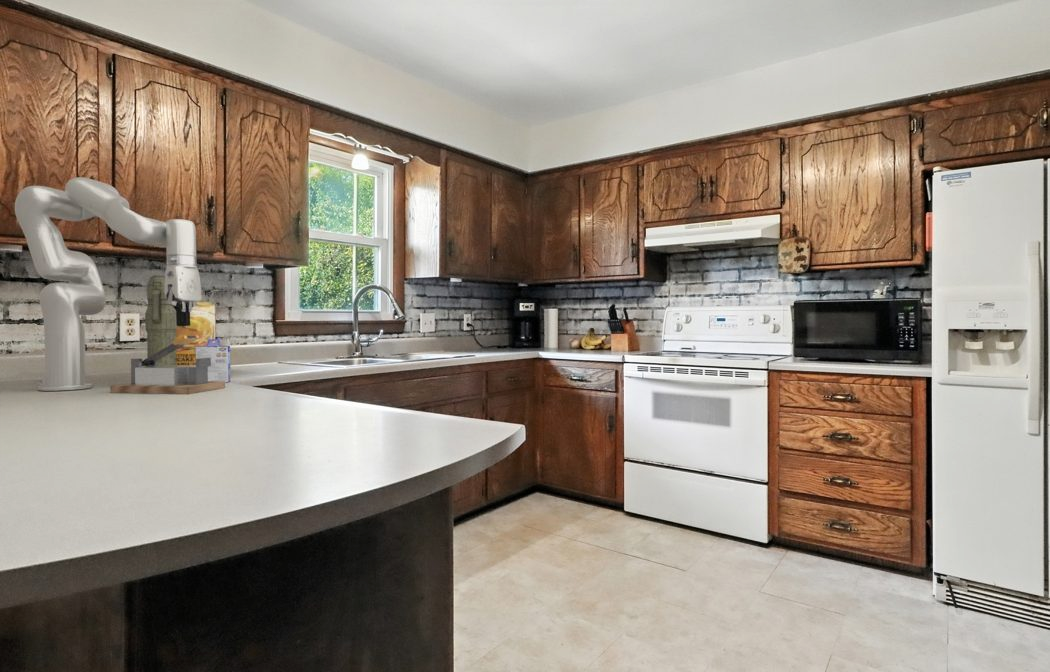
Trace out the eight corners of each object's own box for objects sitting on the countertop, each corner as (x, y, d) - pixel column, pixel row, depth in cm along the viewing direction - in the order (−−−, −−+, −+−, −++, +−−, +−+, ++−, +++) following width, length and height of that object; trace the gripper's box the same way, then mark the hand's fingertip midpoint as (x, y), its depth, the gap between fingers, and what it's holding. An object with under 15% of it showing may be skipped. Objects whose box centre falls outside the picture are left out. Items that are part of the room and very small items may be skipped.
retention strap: (134, 367, 170) (133, 364, 170) (150, 366, 176) (148, 363, 176) (185, 338, 168) (183, 335, 168) (199, 338, 174) (197, 334, 174)
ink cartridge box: (231, 381, 200) (230, 338, 200) (229, 382, 195) (228, 339, 195) (198, 382, 197) (198, 339, 197) (195, 383, 192) (195, 339, 192)
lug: (188, 384, 168) (188, 358, 168) (200, 383, 173) (200, 357, 173) (199, 384, 168) (199, 358, 168) (210, 383, 173) (210, 357, 173)
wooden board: (110, 392, 165) (110, 385, 165) (153, 386, 181) (152, 380, 181) (188, 394, 162) (188, 386, 162) (225, 388, 178) (225, 381, 178)
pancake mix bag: (154, 380, 204) (154, 299, 204) (216, 377, 213) (216, 300, 213) (153, 381, 198) (152, 298, 198) (217, 379, 208) (216, 299, 207)
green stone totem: (142, 385, 185) (141, 274, 184) (149, 382, 196) (148, 277, 195) (174, 384, 188) (173, 275, 187) (180, 381, 199) (179, 278, 198)
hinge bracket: (131, 384, 169) (131, 358, 169) (150, 381, 177) (150, 357, 176) (138, 384, 169) (138, 358, 169) (158, 382, 176) (157, 357, 176)
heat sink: (135, 385, 167) (135, 367, 167) (166, 381, 179) (165, 364, 178) (174, 385, 165) (173, 368, 165) (202, 381, 177) (202, 365, 177)
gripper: (175, 259, 163) (177, 325, 163) (210, 265, 178) (212, 325, 178) (150, 260, 164) (152, 326, 164) (187, 265, 179) (189, 326, 179)
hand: (183, 325), depth 171 cm, fingers closed
